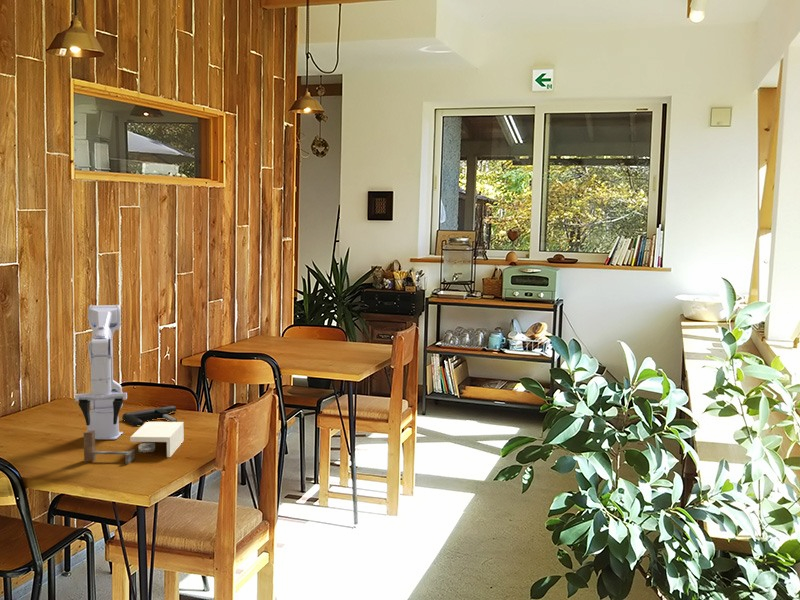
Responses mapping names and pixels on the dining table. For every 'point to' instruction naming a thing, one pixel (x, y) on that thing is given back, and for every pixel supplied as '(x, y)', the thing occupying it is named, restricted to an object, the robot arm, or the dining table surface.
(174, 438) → the white bridge block
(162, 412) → the door handle
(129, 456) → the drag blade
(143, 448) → the grey round disc
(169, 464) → the dining table surface
